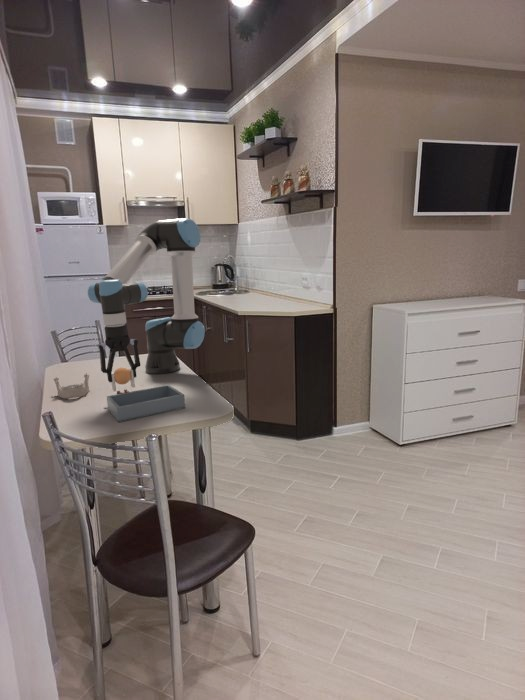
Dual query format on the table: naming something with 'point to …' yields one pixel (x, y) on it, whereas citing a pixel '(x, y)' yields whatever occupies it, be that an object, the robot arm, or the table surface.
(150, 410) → the tray
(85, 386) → the anatomical model
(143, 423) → the table surface
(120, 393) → the tan knobbed round piece
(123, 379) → the ball
